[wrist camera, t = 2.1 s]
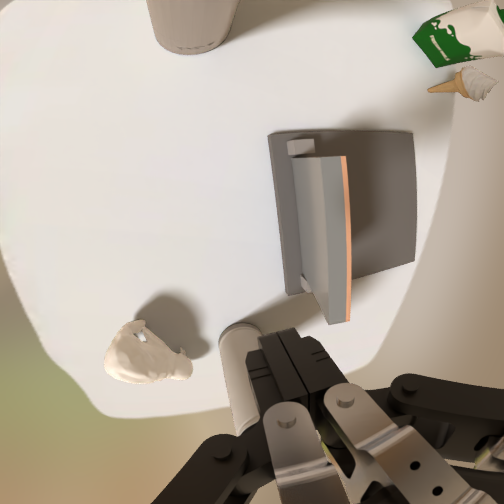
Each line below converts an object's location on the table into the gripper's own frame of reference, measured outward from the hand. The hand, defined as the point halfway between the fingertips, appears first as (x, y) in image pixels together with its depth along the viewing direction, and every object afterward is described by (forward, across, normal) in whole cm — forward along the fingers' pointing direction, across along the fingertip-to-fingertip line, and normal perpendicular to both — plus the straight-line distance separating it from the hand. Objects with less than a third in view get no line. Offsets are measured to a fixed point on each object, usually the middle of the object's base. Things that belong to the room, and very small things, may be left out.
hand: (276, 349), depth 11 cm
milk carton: (+23, -40, -28) cm, 54 cm away
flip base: (+23, -18, 0) cm, 29 cm away
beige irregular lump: (+23, +12, +14) cm, 30 cm away
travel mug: (+23, 0, +16) cm, 28 cm away
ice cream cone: (+23, -36, -18) cm, 46 cm away
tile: (+21, -11, 0) cm, 24 cm away
